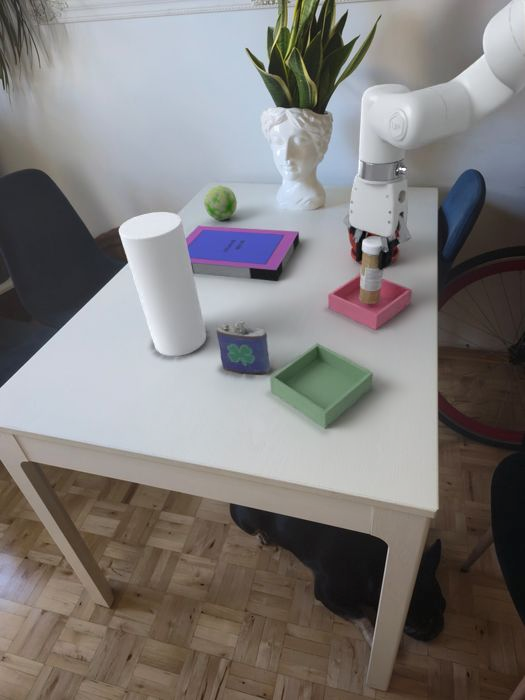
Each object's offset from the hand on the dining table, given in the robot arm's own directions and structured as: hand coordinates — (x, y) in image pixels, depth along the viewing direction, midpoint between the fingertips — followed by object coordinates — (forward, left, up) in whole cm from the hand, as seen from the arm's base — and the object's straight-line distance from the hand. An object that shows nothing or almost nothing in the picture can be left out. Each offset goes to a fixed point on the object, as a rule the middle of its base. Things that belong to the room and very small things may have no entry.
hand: (372, 262), depth 87 cm
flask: (+5, +31, -11) cm, 33 cm away
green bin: (-9, +26, -10) cm, 29 cm away
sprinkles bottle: (0, 0, -9) cm, 9 cm away
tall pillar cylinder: (+22, +34, -11) cm, 42 cm away
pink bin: (0, 0, -10) cm, 10 cm away
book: (+41, +3, -11) cm, 43 cm away
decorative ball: (+63, -11, -11) cm, 65 cm away
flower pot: (+12, -18, -11) cm, 24 cm away
